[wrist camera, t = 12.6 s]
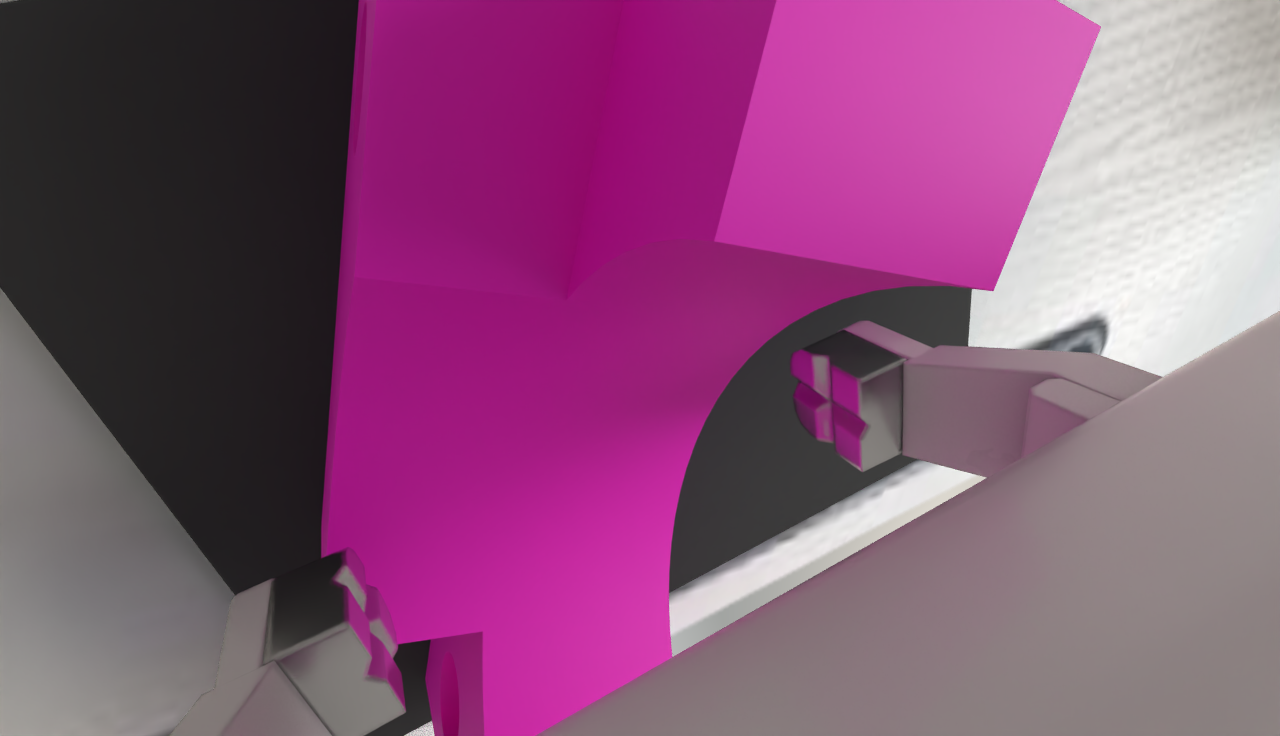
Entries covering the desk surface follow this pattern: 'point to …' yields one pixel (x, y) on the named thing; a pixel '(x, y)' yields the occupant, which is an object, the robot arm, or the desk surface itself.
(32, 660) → the desk surface
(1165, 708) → the robot arm
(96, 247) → the mat
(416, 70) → the toy block
